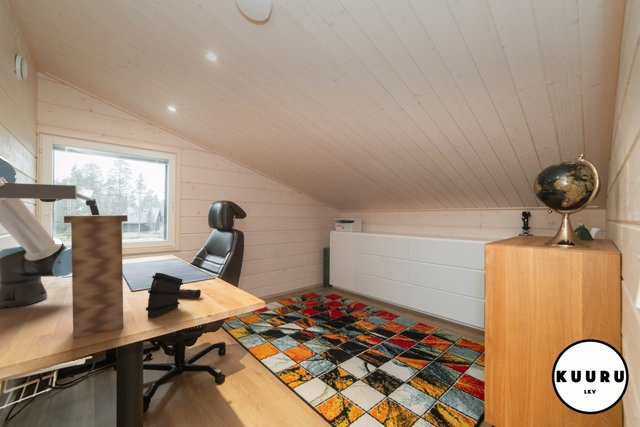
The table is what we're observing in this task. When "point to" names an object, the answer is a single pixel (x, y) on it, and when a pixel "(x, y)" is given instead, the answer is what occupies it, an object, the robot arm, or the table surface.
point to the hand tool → (190, 293)
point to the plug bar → (37, 191)
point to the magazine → (163, 295)
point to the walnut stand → (96, 273)
